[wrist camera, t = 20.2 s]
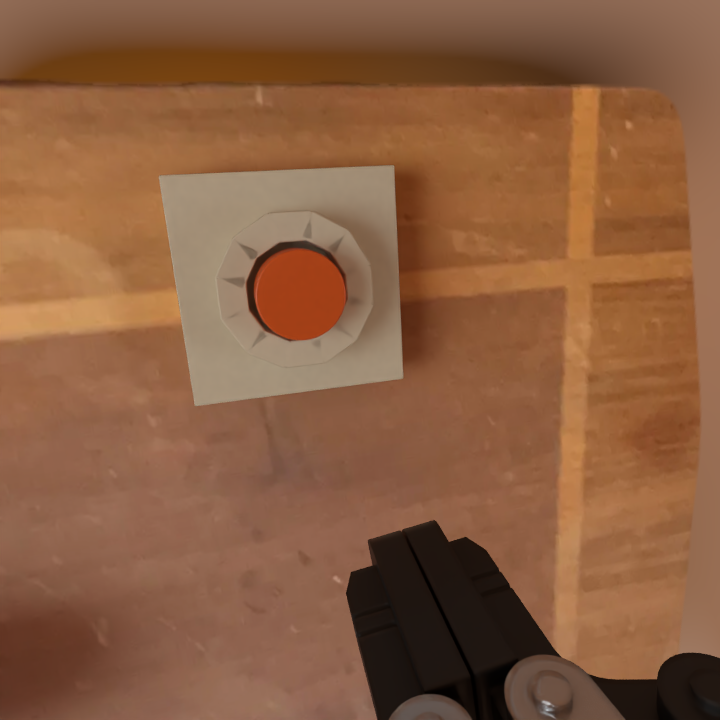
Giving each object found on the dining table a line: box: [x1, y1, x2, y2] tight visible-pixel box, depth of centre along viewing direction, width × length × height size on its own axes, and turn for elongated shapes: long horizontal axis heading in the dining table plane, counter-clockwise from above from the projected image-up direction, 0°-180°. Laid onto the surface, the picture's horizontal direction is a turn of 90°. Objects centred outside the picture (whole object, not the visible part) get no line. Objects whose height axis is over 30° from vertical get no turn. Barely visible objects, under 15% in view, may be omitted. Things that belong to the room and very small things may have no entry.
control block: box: [159, 165, 403, 406], centre depth 23 cm, size 10×10×4 cm
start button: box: [254, 248, 346, 340], centre depth 21 cm, size 4×4×2 cm
